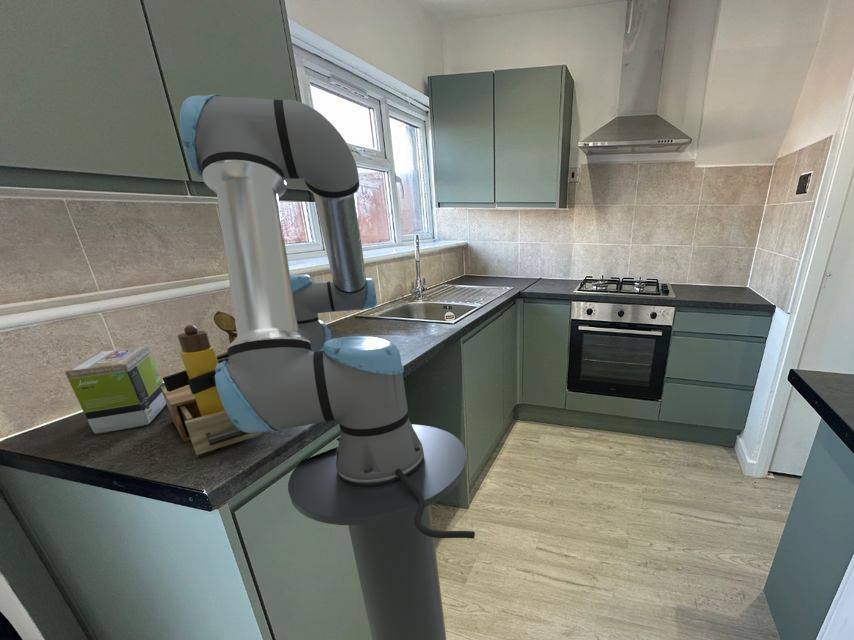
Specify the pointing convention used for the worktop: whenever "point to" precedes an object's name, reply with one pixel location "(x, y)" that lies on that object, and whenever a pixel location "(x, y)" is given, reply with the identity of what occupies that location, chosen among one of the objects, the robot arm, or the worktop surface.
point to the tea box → (118, 389)
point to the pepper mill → (200, 366)
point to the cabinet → (175, 400)
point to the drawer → (210, 429)
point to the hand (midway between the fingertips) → (178, 385)
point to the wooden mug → (226, 324)
